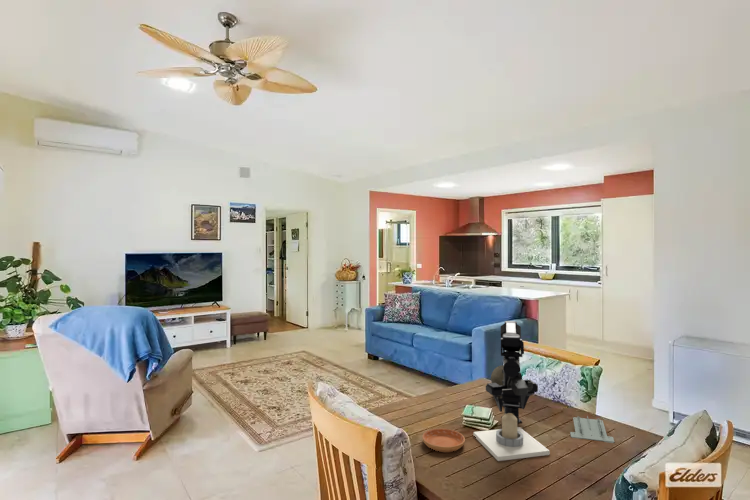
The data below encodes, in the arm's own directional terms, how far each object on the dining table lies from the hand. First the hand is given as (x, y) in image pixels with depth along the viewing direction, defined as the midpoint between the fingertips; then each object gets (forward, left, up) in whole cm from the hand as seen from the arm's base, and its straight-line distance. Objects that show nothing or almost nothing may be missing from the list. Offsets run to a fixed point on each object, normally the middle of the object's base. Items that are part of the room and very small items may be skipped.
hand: (511, 410), depth 159 cm
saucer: (-5, -25, -13) cm, 29 cm away
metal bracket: (-1, +34, -14) cm, 37 cm away
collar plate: (+1, -1, -13) cm, 13 cm away
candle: (+1, -1, -12) cm, 12 cm away
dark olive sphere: (-46, +23, -13) cm, 53 cm away
